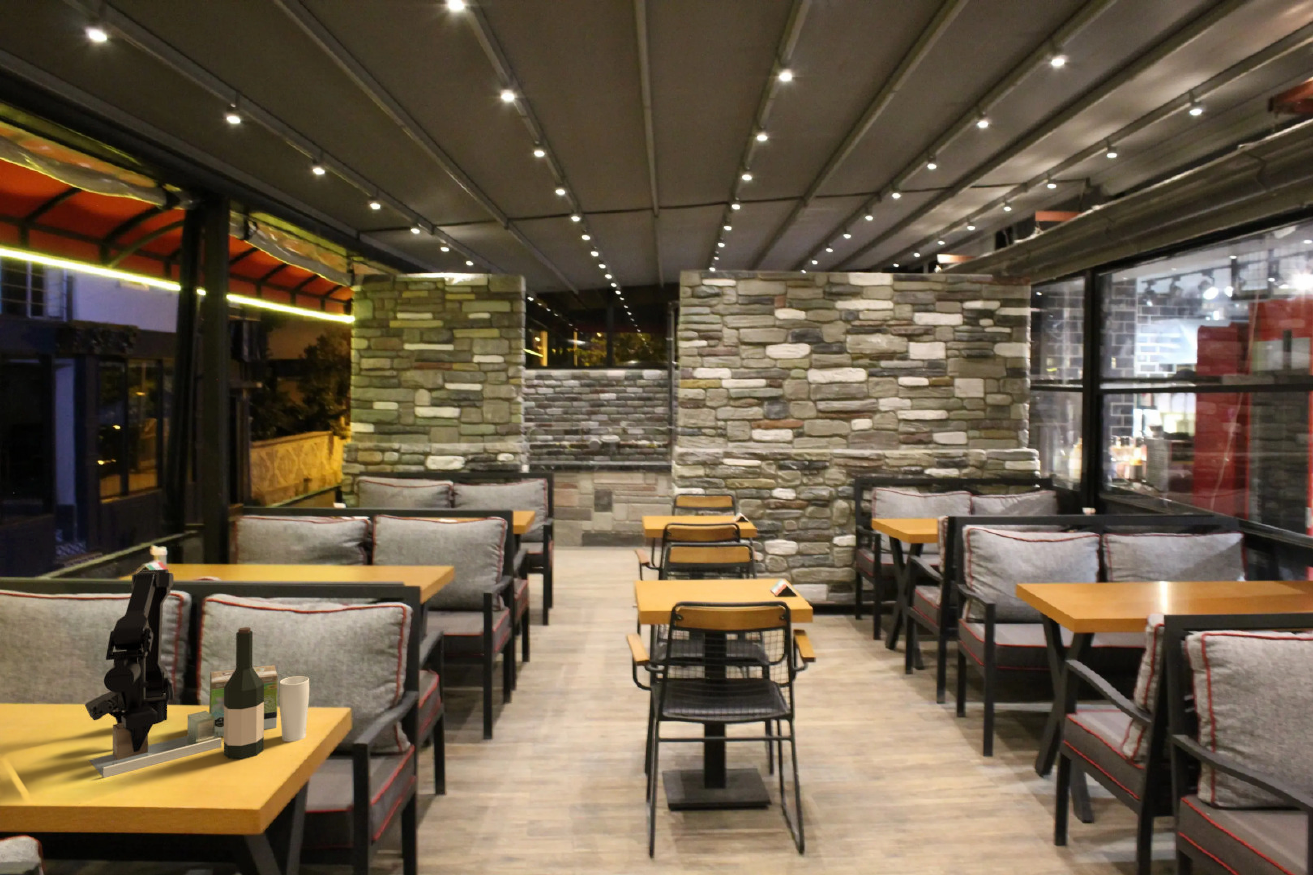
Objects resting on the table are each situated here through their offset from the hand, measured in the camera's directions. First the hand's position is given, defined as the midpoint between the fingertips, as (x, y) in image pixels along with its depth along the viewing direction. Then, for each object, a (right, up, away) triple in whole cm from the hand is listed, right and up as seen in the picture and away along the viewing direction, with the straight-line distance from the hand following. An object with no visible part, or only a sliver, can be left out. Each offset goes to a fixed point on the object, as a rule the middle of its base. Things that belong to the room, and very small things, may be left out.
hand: (130, 745), depth 187 cm
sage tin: (+13, -2, +5) cm, 14 cm away
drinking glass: (+33, -3, +11) cm, 35 cm away
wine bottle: (+25, -3, +2) cm, 26 cm away
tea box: (+17, -3, +18) cm, 25 cm away
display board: (+6, -3, 0) cm, 7 cm away
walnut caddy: (0, -2, 0) cm, 2 cm away
